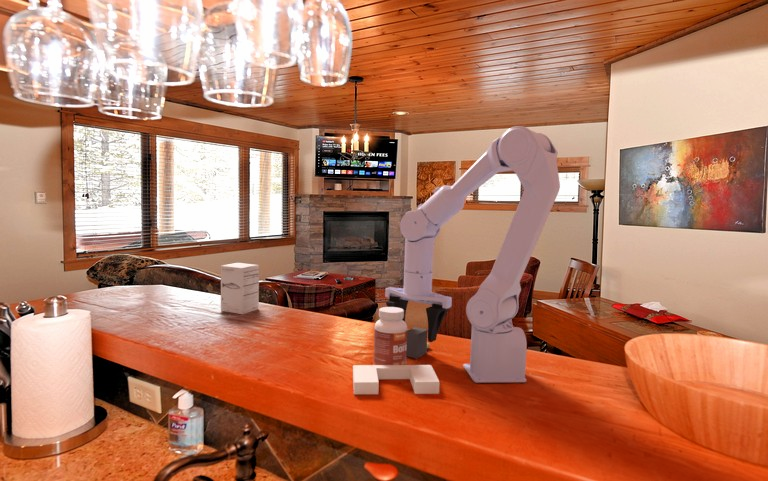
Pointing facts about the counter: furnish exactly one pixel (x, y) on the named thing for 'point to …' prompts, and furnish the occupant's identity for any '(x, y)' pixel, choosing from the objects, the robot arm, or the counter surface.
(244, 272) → the supplement box
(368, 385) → the notched board
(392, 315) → the pill bottle
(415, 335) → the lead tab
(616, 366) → the counter surface
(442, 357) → the counter surface
